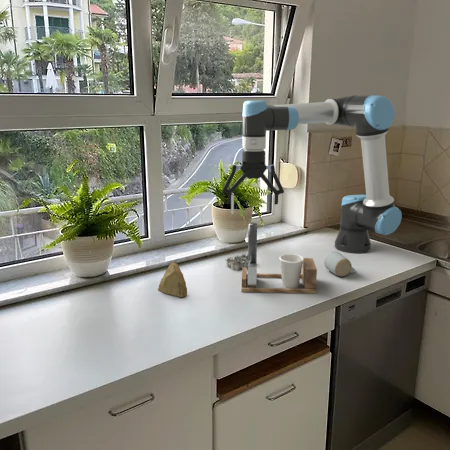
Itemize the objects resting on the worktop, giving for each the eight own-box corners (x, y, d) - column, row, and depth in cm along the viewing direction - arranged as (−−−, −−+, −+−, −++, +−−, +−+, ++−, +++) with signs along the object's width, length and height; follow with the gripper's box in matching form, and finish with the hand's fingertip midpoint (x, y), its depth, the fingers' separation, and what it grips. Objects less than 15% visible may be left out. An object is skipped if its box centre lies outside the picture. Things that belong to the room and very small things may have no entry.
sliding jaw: (256, 277, 167) (257, 219, 161) (256, 289, 158) (257, 227, 152) (247, 277, 167) (248, 219, 161) (247, 288, 158) (248, 227, 152)
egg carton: (233, 271, 174) (233, 261, 173) (223, 265, 181) (223, 255, 180) (257, 266, 179) (257, 256, 178) (247, 260, 186) (247, 251, 185)
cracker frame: (311, 277, 168) (312, 256, 166) (316, 293, 155) (317, 271, 152) (242, 276, 169) (242, 255, 167) (241, 291, 156) (241, 269, 154)
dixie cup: (285, 291, 156) (286, 263, 154) (274, 282, 164) (275, 255, 161) (307, 287, 160) (308, 260, 157) (294, 278, 167) (296, 252, 164)
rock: (196, 289, 152) (188, 275, 161) (181, 273, 148) (173, 259, 156) (170, 310, 152) (163, 295, 161) (154, 295, 148) (148, 279, 156)
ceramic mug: (335, 279, 167) (336, 258, 165) (323, 271, 174) (324, 251, 172) (359, 275, 170) (361, 255, 168) (346, 268, 178) (348, 249, 176)
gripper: (214, 150, 147) (214, 215, 152) (293, 151, 145) (290, 216, 151) (216, 148, 154) (216, 210, 160) (291, 148, 153) (289, 211, 158)
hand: (252, 213), depth 155 cm, fingers open, 13 cm apart
